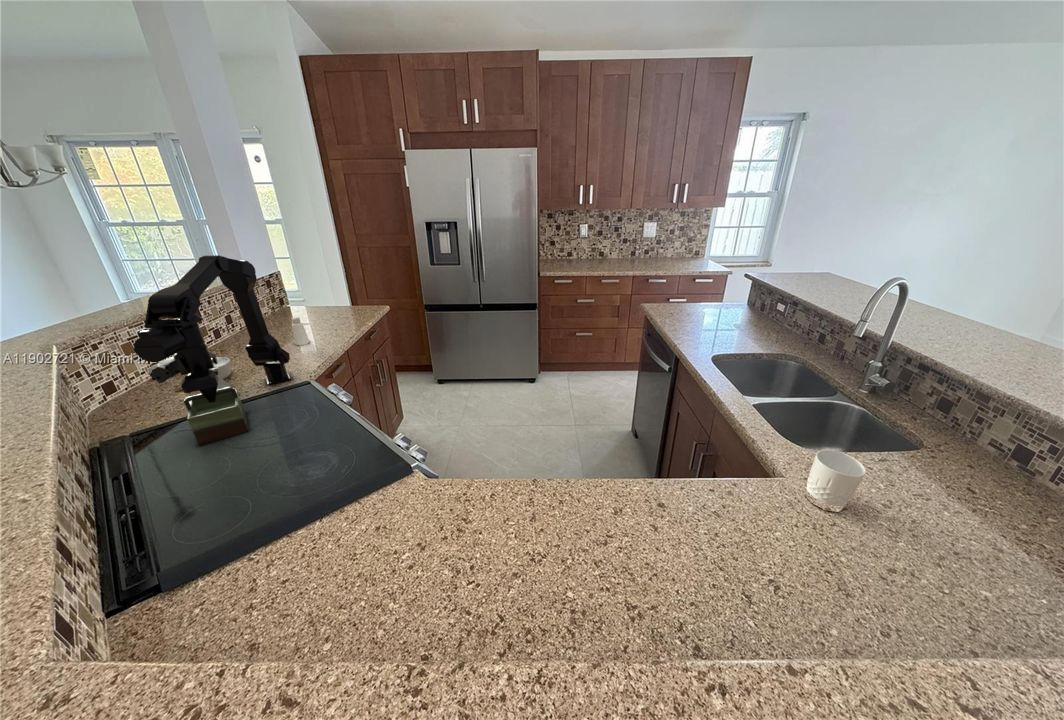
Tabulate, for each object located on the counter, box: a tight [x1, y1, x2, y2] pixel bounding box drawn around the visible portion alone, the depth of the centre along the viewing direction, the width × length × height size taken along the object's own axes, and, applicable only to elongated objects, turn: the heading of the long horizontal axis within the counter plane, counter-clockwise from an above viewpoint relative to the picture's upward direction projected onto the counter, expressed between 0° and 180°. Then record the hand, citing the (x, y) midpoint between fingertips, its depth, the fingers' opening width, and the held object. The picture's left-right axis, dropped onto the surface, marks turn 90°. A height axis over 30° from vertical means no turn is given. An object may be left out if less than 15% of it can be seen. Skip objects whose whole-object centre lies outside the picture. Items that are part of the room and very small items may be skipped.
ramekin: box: [189, 356, 232, 380], centre depth 124 cm, size 11×11×5 cm
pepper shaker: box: [291, 316, 310, 346], centre depth 151 cm, size 5×5×11 cm
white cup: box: [805, 449, 867, 506], centre depth 74 cm, size 8×8×10 cm
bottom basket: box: [193, 401, 249, 447], centre depth 98 cm, size 11×10×4 cm
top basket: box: [183, 386, 243, 434], centre depth 95 cm, size 11×10×7 cm
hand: (212, 400), depth 95 cm, fingers closed on top basket
